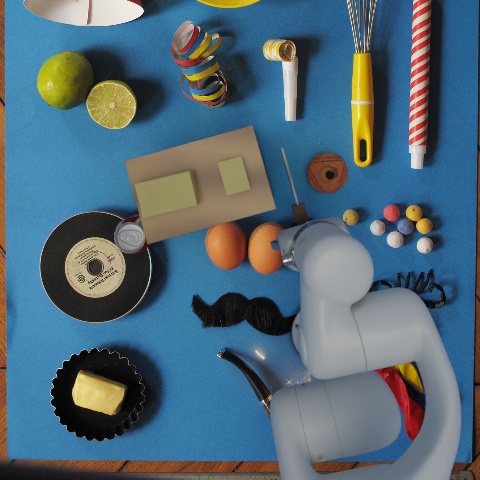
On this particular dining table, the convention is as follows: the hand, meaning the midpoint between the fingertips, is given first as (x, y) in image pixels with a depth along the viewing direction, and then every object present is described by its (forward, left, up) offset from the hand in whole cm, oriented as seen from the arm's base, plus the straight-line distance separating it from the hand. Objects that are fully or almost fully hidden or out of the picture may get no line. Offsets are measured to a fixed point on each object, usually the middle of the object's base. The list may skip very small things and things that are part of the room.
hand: (304, 228), depth 73 cm
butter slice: (+13, +10, +12) cm, 20 cm away
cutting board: (+13, +14, -12) cm, 23 cm away
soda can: (+7, +30, -13) cm, 33 cm away
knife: (+5, 0, -1) cm, 5 cm away
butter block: (+13, +18, +11) cm, 25 cm away
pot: (+8, -8, -13) cm, 17 cm away
